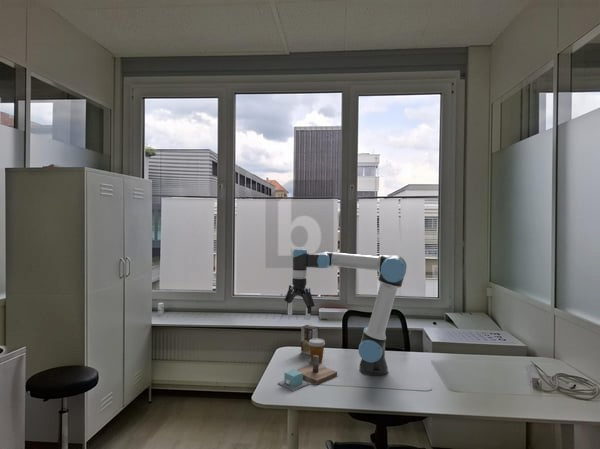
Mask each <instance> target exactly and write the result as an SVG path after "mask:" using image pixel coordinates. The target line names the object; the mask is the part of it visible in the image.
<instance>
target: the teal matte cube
mask: <svg viewBox="0 0 600 449" xmlns="http://www.w3.org/2000/svg"><path fill="white" fill-rule="evenodd" d="M297 370H298V369H294V368H293V369H291V370H288V371H285V372H283V374H284V375H283V376H284V377H283V380H284V383H286V384H288V385H290V386H293V387H294V386H297V385H299V384H301V383H303V381H304V379H303V373H302V372H299V371H297Z"/></svg>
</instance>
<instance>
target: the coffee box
mask: <svg viewBox="0 0 600 449" xmlns="http://www.w3.org/2000/svg"><path fill="white" fill-rule="evenodd" d="M300 329H301V330H300V331H301V332H300V333H301V334H300V353H301V354H303V355H308V356H310V346H309V340H310V339H313V338H319V330H320V329H319V327H318V326H315V325H309V324H305V325H303V326H301V328H300ZM319 339H320V338H319Z"/></svg>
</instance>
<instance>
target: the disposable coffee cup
mask: <svg viewBox="0 0 600 449" xmlns="http://www.w3.org/2000/svg"><path fill="white" fill-rule="evenodd" d="M325 344H326V341H325V339H323V338H313V339H310V340H309V346H310V355H309V356H310V362H311V363H312V364H313V356H314V355H318V356H319V364H321V363H322V362H323V356H324V351H325V350H324V349H325Z"/></svg>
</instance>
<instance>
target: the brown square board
mask: <svg viewBox="0 0 600 449" xmlns="http://www.w3.org/2000/svg"><path fill="white" fill-rule="evenodd" d="M296 370H297V371H299V372H302V373H303V380H304V381H306V382H308V383H310V382H311V383H312V384H314V385H319V384H321V383H323V382H325V381H328V380H330V379H332V378H334V377H337V376H338V371H336V370H333V369H331V368H329V367H326V366H323V365H320V363H319V356H318V355H314V356H313V363H312V364H309V365H306V366H304V367H301V368H299V369H296Z"/></svg>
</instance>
